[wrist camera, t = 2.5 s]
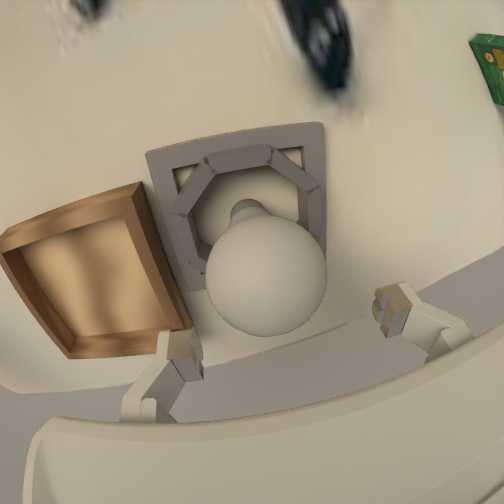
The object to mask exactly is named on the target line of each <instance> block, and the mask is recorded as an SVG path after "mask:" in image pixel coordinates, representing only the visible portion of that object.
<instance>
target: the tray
mask: <svg viewBox="0 0 504 504" xmlns="http://www.w3.org/2000/svg"><path fill="white" fill-rule="evenodd" d="M0 264H1V266H2V268H3V270H4V271H5V273H6V275H7V277H8V278H9V280H10V282H11V283H12V285H13V286H14V288H15V290H16V291H17V293H18V294H19V296H20V297H21V299H22V300H23V302H24V303H25V305H26V306H27V308H28V309H29V310H30V312H31V313H32V315H33V316H34V317H35V319H36V320H37V321H38V323H39V324H40V325H41V327H42V328H43V329H44V331H45V332H46V333H47V334H48V336H49V337H50V338H51V339H52V340H53V342H54V343H55V344H56V345H57V346H58V348H59V349H60V350H61V351H62V352H63V353H64V355H65V356H66V357H67V358H68V359H90V358H108V357H121V356H133V355H144V354H153V353H156V350H157V342H158V335H159V332H160V331H164V330H172V329H181V328H190V327H194V324H193V322H192V320H191V317H190V315H189V313H188V310H187V308H186V305H185V303H184V301H183V298H182V296H181V293H180V291H179V288H178V286H177V283H176V280H175V278H174V275H173V273H172V270H171V267H170V265H169V262H168V259H167V257H166V254H165V251H164V248H163V246H162V243H161V240H160V237H159V234H158V231H157V228H156V225H155V222H154V219H153V216H152V213H151V210H150V207H149V204H148V201H147V197H146V194H145V191H144V188H143V184H142V181H140V182H136V183H133V184H129V185H126V186H122V187H119V188H116V189H112V190H109V191H106V192H103V193H100V194H96V195H93V196H90V197H87V198H84V199H81V200H79V201H76V202H73V203H70V204H67V205H64V206H62V207H59V208H56V209H54V210H51V211H49V212H46V213H43V214H41V215H38V216H36V217H33V218H31V219H29V220H26V221H24V222H22V223H19V224H17V225H15V226H12V227H10V228H8V229H7V230H6V231H5V232H4V233H3V234H2V235H1V236H0Z"/></svg>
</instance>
